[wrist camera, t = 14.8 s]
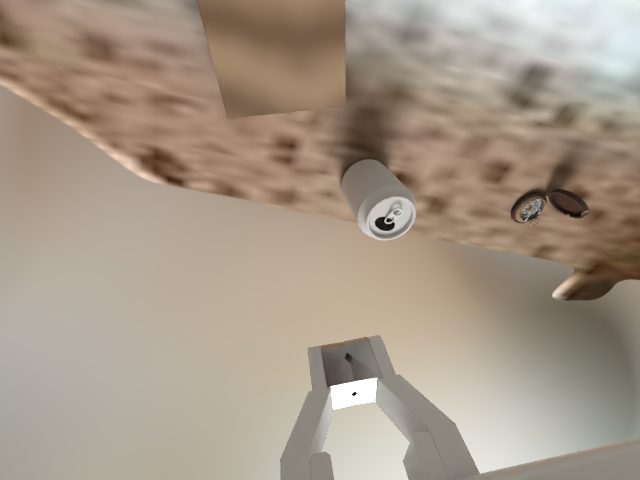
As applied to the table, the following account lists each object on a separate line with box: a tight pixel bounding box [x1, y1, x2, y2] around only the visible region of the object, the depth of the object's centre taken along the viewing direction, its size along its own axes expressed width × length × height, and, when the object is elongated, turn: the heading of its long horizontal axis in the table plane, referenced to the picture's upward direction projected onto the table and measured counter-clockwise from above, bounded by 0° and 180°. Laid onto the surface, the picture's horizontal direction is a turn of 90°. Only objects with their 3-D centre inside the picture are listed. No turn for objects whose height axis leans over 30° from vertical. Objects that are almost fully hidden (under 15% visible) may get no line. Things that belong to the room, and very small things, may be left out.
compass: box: [511, 189, 589, 226], centre depth 46 cm, size 8×8×7 cm
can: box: [342, 159, 416, 240], centre depth 36 cm, size 8×8×12 cm
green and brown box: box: [197, 0, 346, 119], centre depth 26 cm, size 14×12×7 cm
